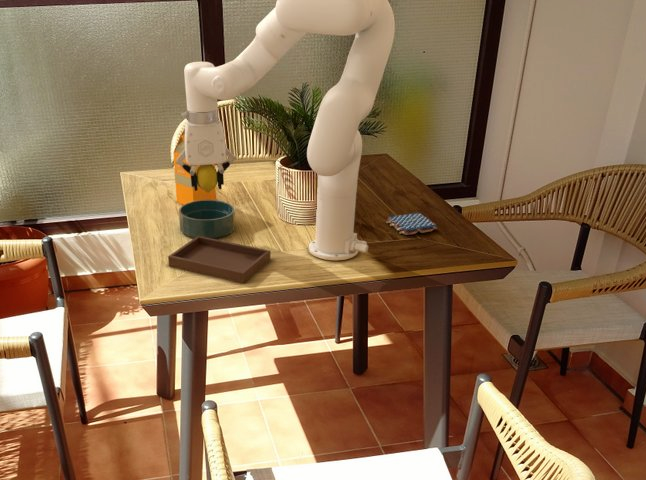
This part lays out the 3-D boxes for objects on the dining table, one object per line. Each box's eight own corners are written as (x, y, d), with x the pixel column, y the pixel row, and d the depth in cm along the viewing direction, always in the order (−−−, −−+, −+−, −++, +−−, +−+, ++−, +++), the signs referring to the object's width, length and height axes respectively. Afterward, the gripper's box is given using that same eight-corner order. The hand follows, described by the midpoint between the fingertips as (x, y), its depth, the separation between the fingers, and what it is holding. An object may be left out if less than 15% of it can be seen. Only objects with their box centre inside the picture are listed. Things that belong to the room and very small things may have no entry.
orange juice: (216, 200, 214) (213, 131, 203) (193, 208, 209) (189, 138, 198) (198, 194, 219) (195, 126, 207) (176, 201, 213) (171, 132, 202)
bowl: (244, 224, 199) (244, 205, 196) (217, 244, 188) (216, 224, 185) (198, 215, 205) (197, 196, 202) (169, 233, 194) (168, 214, 191)
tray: (270, 260, 180) (270, 250, 179) (243, 283, 170) (243, 273, 168) (198, 244, 188) (198, 235, 186) (168, 266, 177) (167, 256, 176)
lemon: (215, 196, 188) (213, 165, 183) (194, 195, 189) (192, 164, 184) (221, 189, 192) (219, 159, 188) (200, 188, 193) (198, 158, 189)
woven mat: (418, 217, 205) (419, 210, 203) (437, 231, 196) (438, 224, 195) (385, 222, 202) (385, 215, 200) (403, 236, 193) (404, 229, 192)
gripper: (168, 122, 176) (175, 195, 186) (239, 118, 178) (242, 190, 188) (167, 114, 182) (174, 185, 192) (235, 111, 184) (239, 181, 194)
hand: (207, 187), depth 190 cm, fingers closed on lemon, 5 cm apart
